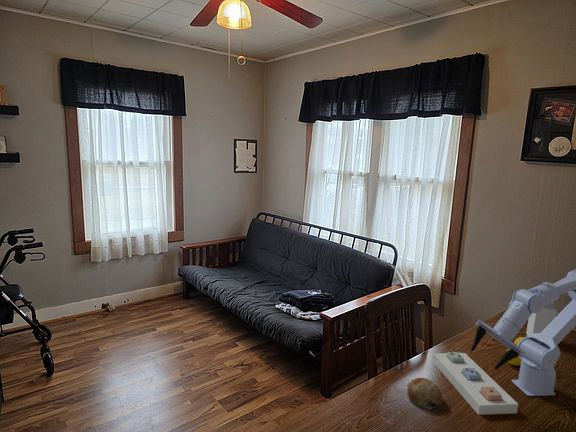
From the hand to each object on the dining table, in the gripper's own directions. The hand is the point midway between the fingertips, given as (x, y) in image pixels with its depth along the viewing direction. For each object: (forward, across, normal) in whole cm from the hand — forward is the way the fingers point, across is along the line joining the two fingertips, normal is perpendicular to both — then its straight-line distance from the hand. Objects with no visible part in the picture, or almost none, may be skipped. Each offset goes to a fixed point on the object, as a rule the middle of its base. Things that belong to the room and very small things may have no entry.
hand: (483, 359), depth 113 cm
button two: (+5, -5, +20) cm, 21 cm away
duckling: (-8, +12, +32) cm, 35 cm away
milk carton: (-24, +16, +55) cm, 62 cm away
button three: (+6, +1, +12) cm, 14 cm away
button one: (+8, +8, +4) cm, 12 cm away
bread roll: (+21, -6, 0) cm, 22 cm away
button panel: (+8, +2, +13) cm, 15 cm away
